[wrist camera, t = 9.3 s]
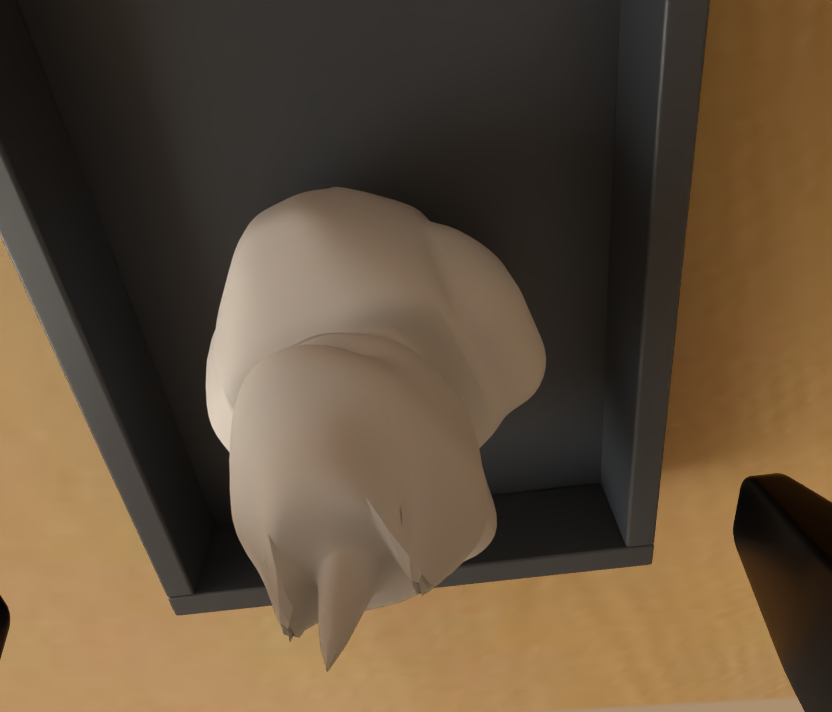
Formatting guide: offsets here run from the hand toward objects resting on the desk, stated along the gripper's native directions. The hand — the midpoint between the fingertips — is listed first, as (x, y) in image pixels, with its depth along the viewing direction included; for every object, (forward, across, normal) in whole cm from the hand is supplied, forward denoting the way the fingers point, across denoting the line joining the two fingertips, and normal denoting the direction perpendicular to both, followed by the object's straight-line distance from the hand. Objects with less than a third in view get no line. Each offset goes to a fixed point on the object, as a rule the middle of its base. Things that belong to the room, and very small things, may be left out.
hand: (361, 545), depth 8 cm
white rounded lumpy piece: (+6, 0, 0) cm, 6 cm away
